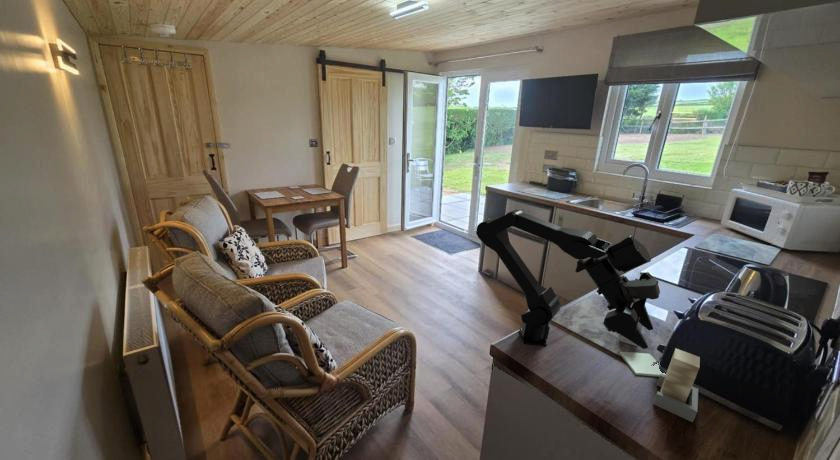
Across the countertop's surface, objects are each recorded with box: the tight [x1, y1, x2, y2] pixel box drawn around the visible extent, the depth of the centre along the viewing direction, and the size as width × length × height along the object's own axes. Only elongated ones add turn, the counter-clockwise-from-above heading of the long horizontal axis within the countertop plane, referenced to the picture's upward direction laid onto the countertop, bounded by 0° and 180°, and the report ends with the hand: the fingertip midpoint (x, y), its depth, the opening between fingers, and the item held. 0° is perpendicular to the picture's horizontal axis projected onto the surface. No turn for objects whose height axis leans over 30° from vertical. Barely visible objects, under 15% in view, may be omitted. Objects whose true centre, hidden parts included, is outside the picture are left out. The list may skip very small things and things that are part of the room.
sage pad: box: [619, 351, 666, 377], centre depth 89 cm, size 8×8×1 cm
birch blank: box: [659, 347, 701, 404], centre depth 76 cm, size 4×4×12 cm
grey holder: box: [653, 374, 699, 423], centre depth 77 cm, size 7×8×3 cm
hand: (648, 338), depth 78 cm, fingers open, 9 cm apart
